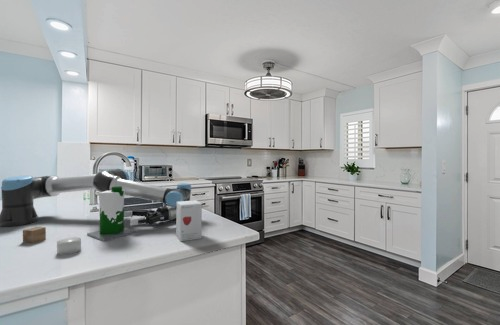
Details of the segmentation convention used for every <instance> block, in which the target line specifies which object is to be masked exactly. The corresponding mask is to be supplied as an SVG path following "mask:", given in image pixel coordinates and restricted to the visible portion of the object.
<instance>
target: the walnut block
mask: <svg viewBox="0 0 500 325" xmlns="http://www.w3.org/2000/svg"><path fill="white" fill-rule="evenodd" d="M46 230H47V228H46V226H32V227H29V228H24V229H22V243H25V244H26V243H27V244H36V243H39V242H41V241H44V239H45V240H47V234H46V233H47V232H46Z"/></svg>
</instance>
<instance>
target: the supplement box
mask: <svg viewBox="0 0 500 325" xmlns="http://www.w3.org/2000/svg"><path fill="white" fill-rule="evenodd" d="M202 204H203V203H202V202H200V201H199V200H197V199H196V200H195V199H194V200H190V201H179V202H177V212H176V219H175V220H176V221H175V222H176V223H175V224H176V225H175V226H176V227H175V229H176V230H175V231H176V232H175V235H176V237H177V238H178V240H179V241H180V242H185V241H192V240H199V239H202V229H203V228H202V223H203V222H202V221H203V220H202V217H203V216H202V214H203V212H202V211H203V209H202V208H203V207H202V206H203V205H202Z"/></svg>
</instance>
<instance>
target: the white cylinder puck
mask: <svg viewBox="0 0 500 325" xmlns="http://www.w3.org/2000/svg"><path fill="white" fill-rule="evenodd" d="M80 251H82V238H81V237H77V236H75V237H68V238H67V237H66V238H63V239H60V240H58V241H57V242H56V254H57V255H59V256H60V255H61V256H67V255H73V254H75V253H78V252H80Z"/></svg>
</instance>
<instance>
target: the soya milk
mask: <svg viewBox="0 0 500 325" xmlns="http://www.w3.org/2000/svg"><path fill="white" fill-rule="evenodd" d="M124 194H125V190H122V186H115V187H112V191H104V192H98V200H99V201H98V202H99V230H100V234H118V233H119V232H121V231H122V230H124V227H125V217H124V212H125V195H124Z"/></svg>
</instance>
